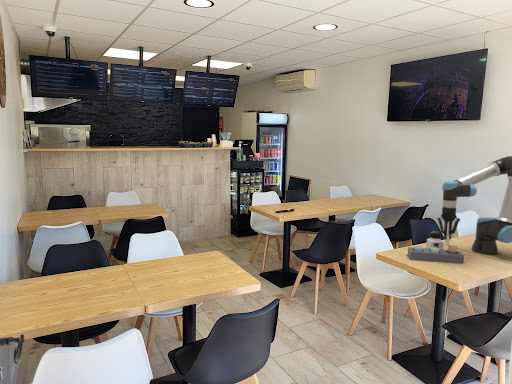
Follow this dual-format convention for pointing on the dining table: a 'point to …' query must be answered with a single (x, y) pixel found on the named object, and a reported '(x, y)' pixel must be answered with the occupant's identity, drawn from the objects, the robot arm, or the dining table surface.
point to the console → (435, 256)
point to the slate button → (418, 248)
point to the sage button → (435, 249)
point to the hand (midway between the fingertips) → (446, 244)
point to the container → (435, 240)
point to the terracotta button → (452, 249)
